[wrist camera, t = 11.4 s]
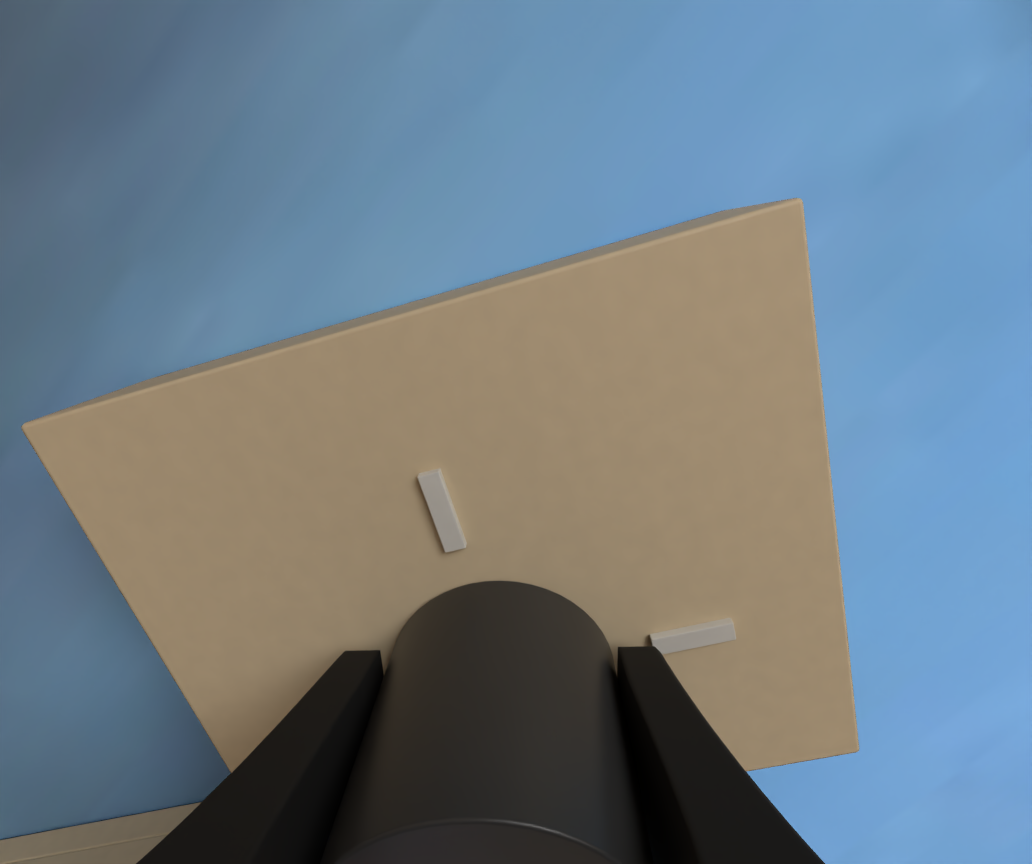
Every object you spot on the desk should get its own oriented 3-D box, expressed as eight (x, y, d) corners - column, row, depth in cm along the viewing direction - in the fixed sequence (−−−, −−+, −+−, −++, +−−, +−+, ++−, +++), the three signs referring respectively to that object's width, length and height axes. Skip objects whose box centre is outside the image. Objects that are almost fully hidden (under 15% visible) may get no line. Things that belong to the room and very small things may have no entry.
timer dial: (621, 581, 9) (695, 859, 5) (608, 759, 10) (659, 1096, 6) (382, 578, 9) (261, 847, 5) (400, 755, 10) (316, 1083, 6)
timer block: (792, 661, 13) (868, 783, 10) (337, 750, 15) (286, 881, 12) (726, 209, 10) (811, 194, 7) (146, 379, 11) (6, 428, 8)
